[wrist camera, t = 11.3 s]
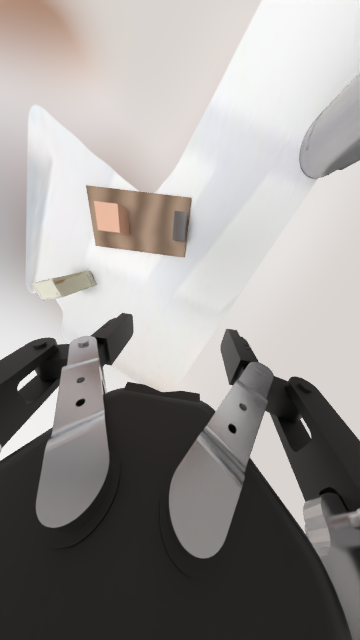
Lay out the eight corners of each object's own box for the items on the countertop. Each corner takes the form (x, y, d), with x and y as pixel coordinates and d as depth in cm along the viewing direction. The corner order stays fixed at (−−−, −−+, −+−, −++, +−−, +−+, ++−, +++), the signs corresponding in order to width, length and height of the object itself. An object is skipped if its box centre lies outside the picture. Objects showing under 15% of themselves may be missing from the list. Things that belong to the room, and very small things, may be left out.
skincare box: (90, 270, 40) (52, 278, 30) (97, 284, 42) (63, 297, 32) (72, 274, 42) (29, 283, 31) (79, 288, 43) (41, 301, 33)
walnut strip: (191, 199, 30) (190, 189, 25) (184, 257, 36) (182, 258, 31) (88, 186, 31) (67, 174, 26) (97, 245, 37) (82, 245, 32)
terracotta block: (128, 209, 32) (117, 203, 27) (129, 234, 34) (119, 232, 30) (107, 207, 32) (93, 200, 28) (110, 232, 34) (97, 229, 30)
